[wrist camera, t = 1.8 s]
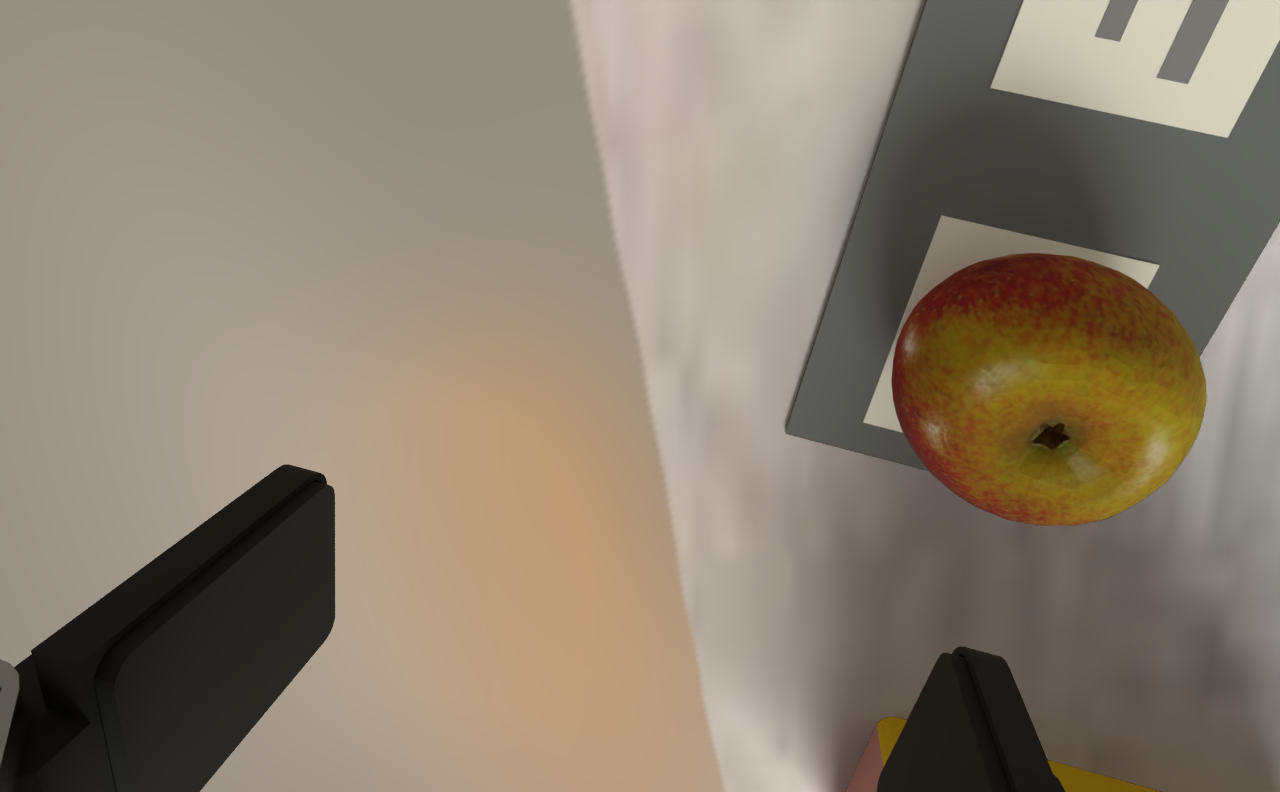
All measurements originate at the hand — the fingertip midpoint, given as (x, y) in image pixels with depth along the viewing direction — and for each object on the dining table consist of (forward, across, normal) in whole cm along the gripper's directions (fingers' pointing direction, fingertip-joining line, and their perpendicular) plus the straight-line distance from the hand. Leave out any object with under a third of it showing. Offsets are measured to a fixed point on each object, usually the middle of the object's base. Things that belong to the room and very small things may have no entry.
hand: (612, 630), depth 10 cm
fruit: (+20, -12, 0) cm, 23 cm away
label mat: (+21, -12, -7) cm, 25 cm away
